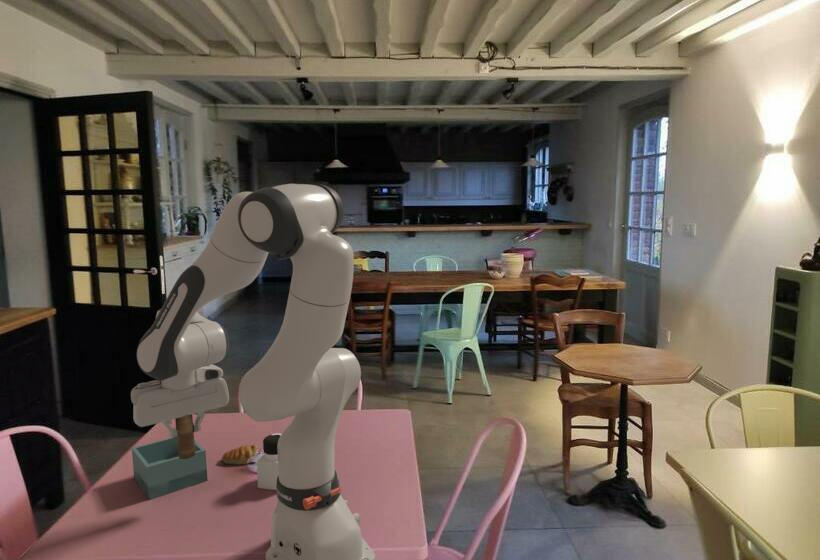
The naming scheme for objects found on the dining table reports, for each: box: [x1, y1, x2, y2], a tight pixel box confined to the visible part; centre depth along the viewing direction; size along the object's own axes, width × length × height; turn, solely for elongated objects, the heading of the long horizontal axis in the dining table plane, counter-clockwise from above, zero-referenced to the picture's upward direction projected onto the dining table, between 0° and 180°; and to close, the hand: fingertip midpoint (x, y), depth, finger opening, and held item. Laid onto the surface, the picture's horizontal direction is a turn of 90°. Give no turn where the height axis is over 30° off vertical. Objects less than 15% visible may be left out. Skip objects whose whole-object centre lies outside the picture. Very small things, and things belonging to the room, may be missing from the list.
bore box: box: [131, 437, 208, 501], centre depth 135 cm, size 14×14×8 cm
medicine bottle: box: [256, 433, 282, 491], centre depth 132 cm, size 7×7×12 cm
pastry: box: [221, 443, 259, 466], centre depth 145 cm, size 9×7×4 cm
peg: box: [174, 414, 195, 459], centre depth 123 cm, size 4×4×12 cm
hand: (185, 434), depth 123 cm, fingers closed on peg, 4 cm apart
